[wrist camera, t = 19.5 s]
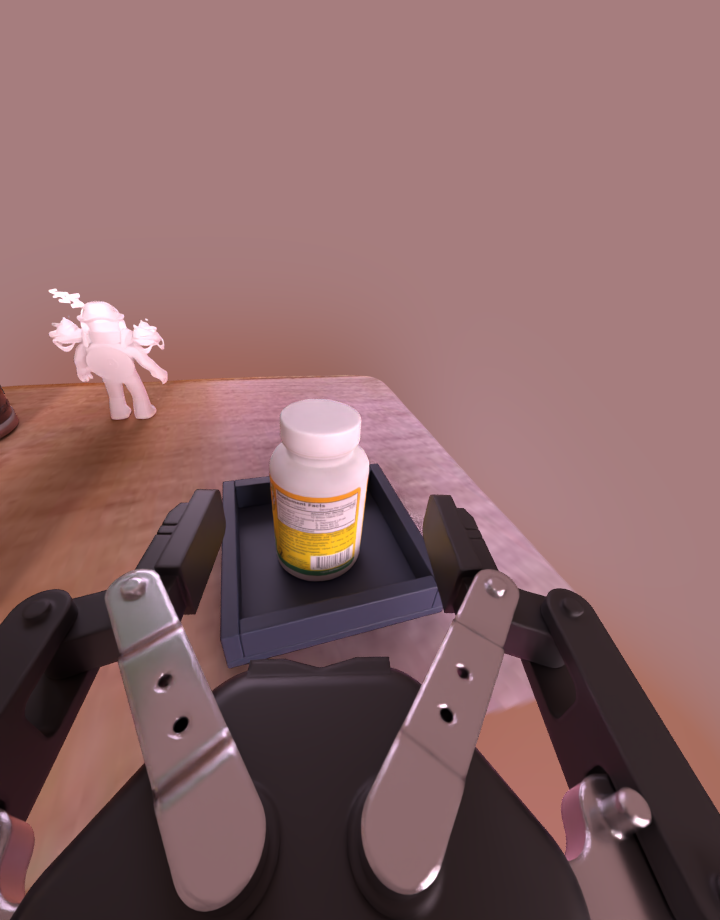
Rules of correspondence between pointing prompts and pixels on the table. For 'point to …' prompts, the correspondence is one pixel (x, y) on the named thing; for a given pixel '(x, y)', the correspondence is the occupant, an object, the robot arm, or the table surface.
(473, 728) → the robot arm
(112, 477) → the table surface
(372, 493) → the tray
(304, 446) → the supplement bottle
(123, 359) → the hat wearing toy figure
